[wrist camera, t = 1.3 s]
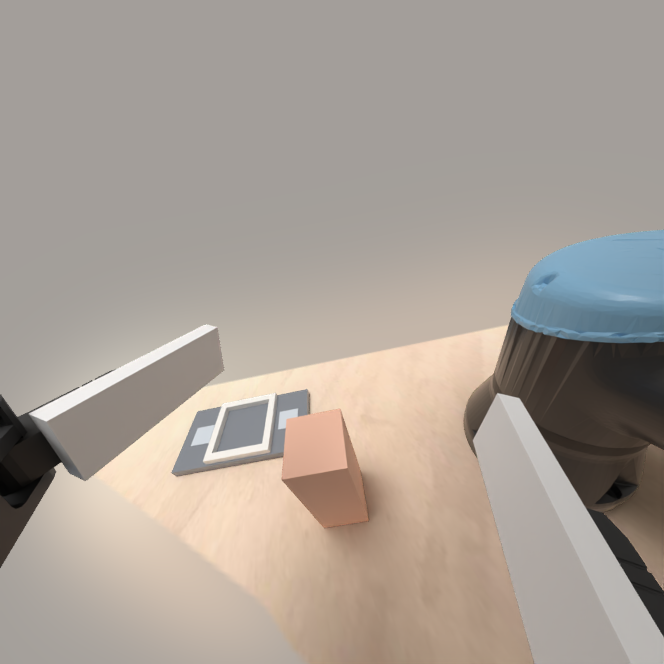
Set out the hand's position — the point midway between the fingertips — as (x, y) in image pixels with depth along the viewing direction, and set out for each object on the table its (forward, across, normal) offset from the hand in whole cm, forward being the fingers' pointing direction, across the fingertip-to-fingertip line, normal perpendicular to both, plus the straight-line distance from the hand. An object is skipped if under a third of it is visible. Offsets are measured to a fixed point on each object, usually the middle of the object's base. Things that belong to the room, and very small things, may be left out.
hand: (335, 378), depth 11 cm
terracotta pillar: (+8, +1, -23) cm, 24 cm away
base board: (+13, -16, -25) cm, 33 cm away
